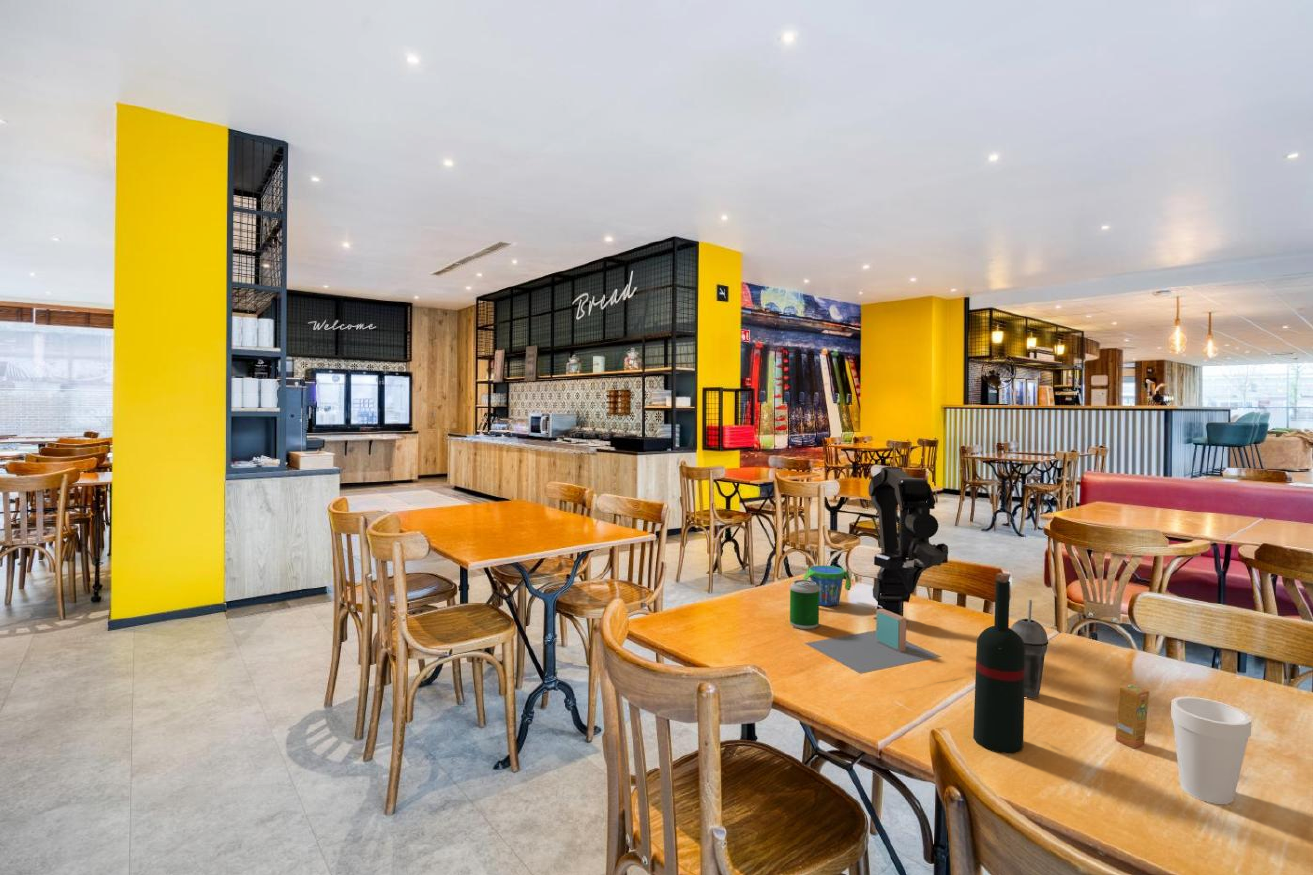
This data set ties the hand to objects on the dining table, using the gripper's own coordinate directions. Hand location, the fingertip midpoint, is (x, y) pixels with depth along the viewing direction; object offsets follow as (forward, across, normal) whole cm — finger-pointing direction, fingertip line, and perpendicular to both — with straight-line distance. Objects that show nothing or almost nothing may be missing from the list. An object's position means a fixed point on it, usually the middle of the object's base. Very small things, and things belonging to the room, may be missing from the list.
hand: (910, 592), depth 165 cm
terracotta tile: (+12, -6, 0) cm, 14 cm away
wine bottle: (+13, -20, -42) cm, 48 cm away
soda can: (+13, -16, +21) cm, 30 cm away
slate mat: (+13, -12, 0) cm, 18 cm away
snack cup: (+13, +3, +36) cm, 38 cm away
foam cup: (+13, -5, -66) cm, 68 cm away
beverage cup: (+13, +1, -31) cm, 34 cm away
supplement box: (+13, 0, -52) cm, 54 cm away
